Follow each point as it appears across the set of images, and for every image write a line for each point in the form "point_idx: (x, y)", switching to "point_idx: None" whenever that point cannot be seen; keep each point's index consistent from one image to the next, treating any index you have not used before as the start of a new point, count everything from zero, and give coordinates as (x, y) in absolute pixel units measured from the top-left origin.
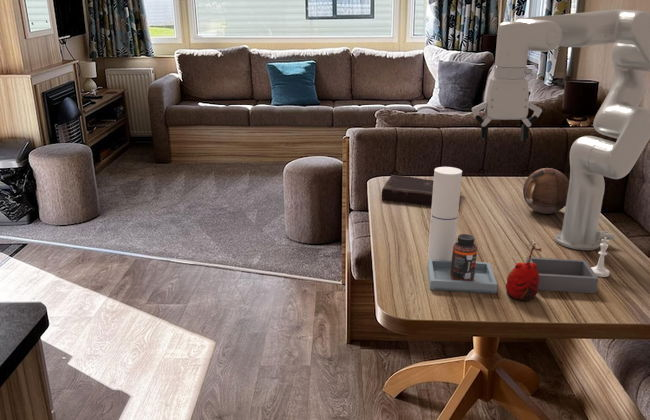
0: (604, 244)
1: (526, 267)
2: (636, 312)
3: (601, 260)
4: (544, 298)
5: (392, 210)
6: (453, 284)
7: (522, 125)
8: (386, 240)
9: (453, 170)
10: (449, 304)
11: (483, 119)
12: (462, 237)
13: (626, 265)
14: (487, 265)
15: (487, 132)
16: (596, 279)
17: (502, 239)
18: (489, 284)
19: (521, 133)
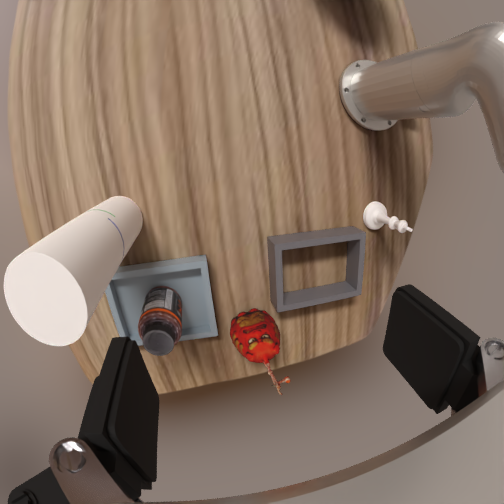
0: (403, 230)
1: (262, 362)
2: (373, 317)
3: (386, 223)
4: (281, 320)
5: (40, 20)
6: None
7: (459, 357)
8: (26, 169)
9: (56, 298)
10: (158, 366)
11: (81, 495)
12: (151, 348)
13: (411, 180)
14: (202, 273)
15: (154, 449)
16: (358, 294)
17: (241, 91)
18: (206, 336)
19: (417, 329)
